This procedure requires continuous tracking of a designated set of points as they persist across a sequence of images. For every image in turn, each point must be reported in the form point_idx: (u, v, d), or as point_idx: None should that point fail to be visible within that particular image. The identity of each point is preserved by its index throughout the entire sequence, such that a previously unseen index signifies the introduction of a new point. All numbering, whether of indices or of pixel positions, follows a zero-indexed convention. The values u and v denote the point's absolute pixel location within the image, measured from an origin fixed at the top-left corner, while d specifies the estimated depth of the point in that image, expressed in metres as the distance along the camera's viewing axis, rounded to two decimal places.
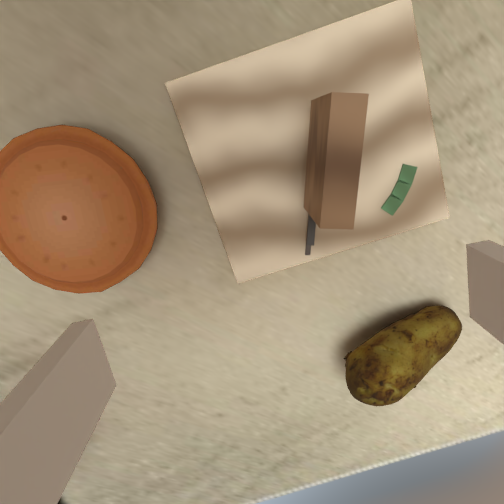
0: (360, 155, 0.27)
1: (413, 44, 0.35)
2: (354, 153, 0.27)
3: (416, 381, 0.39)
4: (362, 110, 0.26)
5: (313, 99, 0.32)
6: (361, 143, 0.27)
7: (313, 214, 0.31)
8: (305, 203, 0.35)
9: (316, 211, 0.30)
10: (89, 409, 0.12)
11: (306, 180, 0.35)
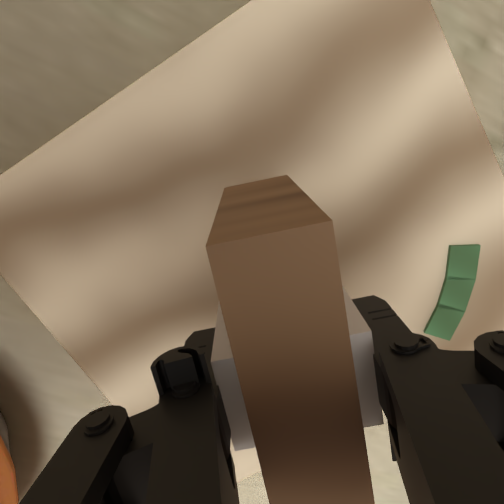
0: (354, 396, 0.09)
1: (419, 8, 0.16)
2: (332, 394, 0.08)
3: None
4: (325, 275, 0.08)
5: (223, 192, 0.14)
6: (348, 366, 0.08)
7: None
8: None
9: None
10: None
11: None
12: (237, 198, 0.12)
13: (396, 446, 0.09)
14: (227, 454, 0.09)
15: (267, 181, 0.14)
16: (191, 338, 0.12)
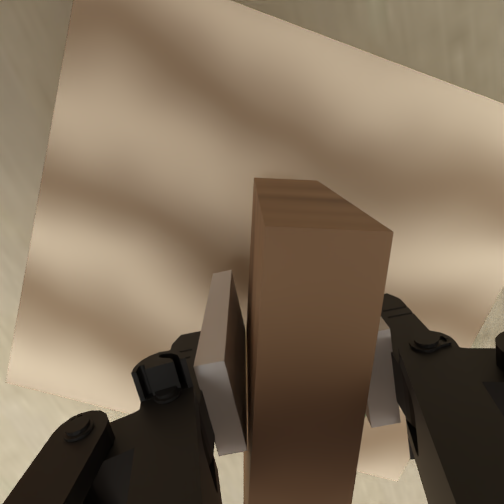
0: (361, 407, 0.09)
1: None
2: (342, 401, 0.08)
3: None
4: (370, 283, 0.08)
5: (254, 181, 0.14)
6: (365, 377, 0.08)
7: (244, 472, 0.13)
8: None
9: (244, 491, 0.11)
10: (242, 343, 0.14)
11: None
12: (274, 190, 0.12)
13: (414, 444, 0.09)
14: (209, 460, 0.09)
15: (299, 182, 0.14)
16: (178, 341, 0.12)
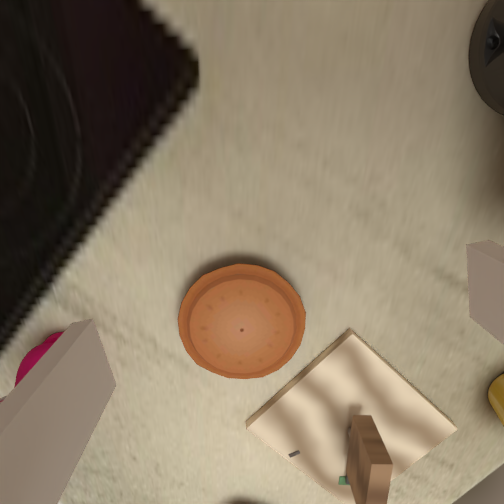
0: (387, 491, 0.45)
1: (435, 443, 0.57)
2: (384, 490, 0.45)
3: None
4: (389, 471, 0.45)
5: (355, 421, 0.51)
6: (388, 486, 0.45)
7: (356, 501, 0.49)
8: (347, 473, 0.53)
9: None
10: (89, 409, 0.12)
11: (348, 459, 0.53)
12: (364, 433, 0.49)
13: None
14: None
15: (366, 419, 0.51)
16: None
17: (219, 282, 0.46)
